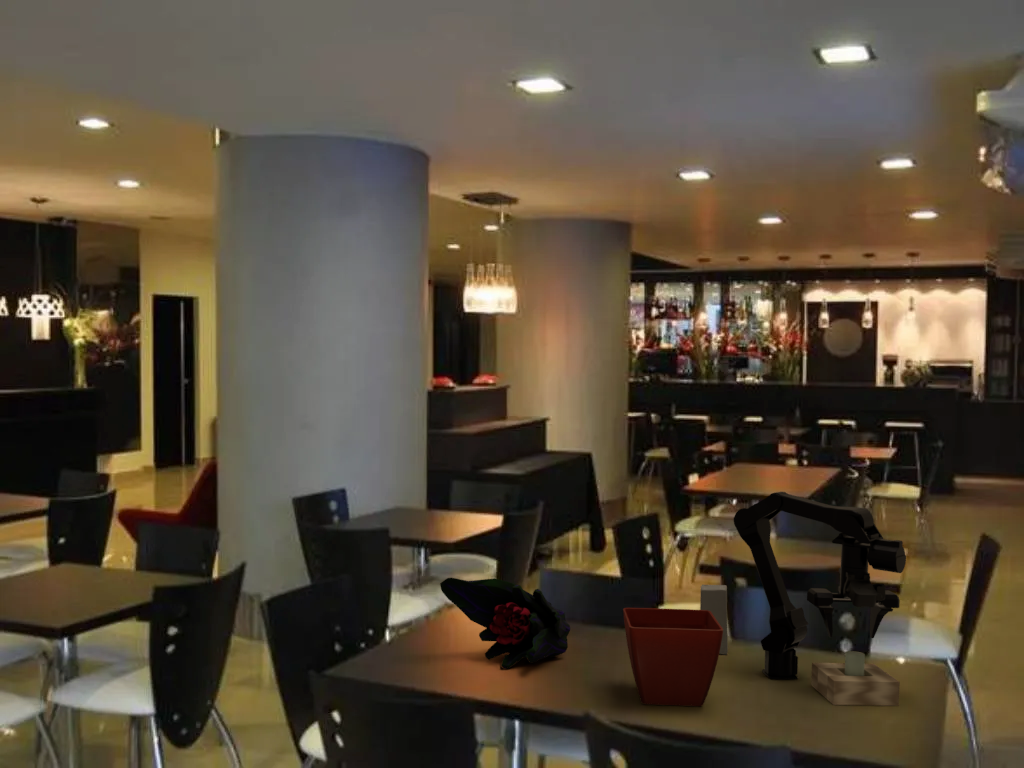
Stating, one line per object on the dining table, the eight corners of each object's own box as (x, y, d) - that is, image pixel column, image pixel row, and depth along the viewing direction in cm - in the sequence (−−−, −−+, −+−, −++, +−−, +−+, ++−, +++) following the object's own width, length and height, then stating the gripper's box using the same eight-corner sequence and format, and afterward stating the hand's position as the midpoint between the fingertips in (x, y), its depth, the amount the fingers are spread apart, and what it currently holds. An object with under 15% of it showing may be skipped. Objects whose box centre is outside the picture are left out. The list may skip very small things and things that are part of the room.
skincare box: (727, 655, 267) (729, 590, 266) (697, 653, 268) (699, 588, 268) (727, 647, 275) (729, 584, 275) (698, 644, 276) (700, 582, 276)
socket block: (833, 704, 229) (834, 680, 229) (811, 685, 243) (812, 662, 243) (898, 705, 230) (899, 681, 230) (872, 685, 244) (873, 663, 244)
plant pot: (620, 682, 241) (622, 606, 241) (707, 685, 241) (710, 609, 240) (626, 709, 222) (629, 626, 222) (721, 713, 222) (724, 630, 221)
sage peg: (847, 697, 235) (849, 656, 235) (841, 692, 239) (842, 651, 239) (866, 698, 235) (867, 656, 235) (859, 692, 239) (860, 651, 239)
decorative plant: (562, 700, 258) (478, 691, 236) (497, 636, 275) (413, 622, 254) (606, 626, 255) (525, 610, 234) (538, 566, 273) (457, 546, 251)
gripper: (824, 572, 231) (820, 645, 231) (911, 574, 231) (908, 648, 232) (807, 562, 242) (804, 632, 242) (891, 564, 242) (887, 634, 243)
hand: (851, 637), depth 239 cm, fingers open, 9 cm apart
